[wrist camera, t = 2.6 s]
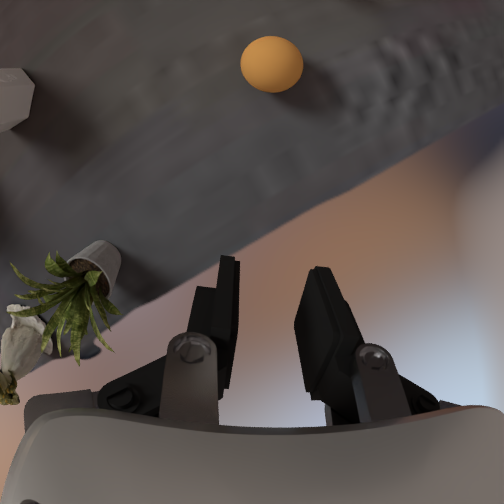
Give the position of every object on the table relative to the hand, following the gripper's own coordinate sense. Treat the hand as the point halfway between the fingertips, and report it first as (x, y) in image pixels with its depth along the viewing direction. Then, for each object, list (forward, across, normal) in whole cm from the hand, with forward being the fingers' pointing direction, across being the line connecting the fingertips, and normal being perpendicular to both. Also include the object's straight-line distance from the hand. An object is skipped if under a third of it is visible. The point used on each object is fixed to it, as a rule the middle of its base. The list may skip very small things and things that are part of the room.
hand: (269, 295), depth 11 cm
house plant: (+23, +20, +13) cm, 33 cm away
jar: (+23, +34, -8) cm, 42 cm away
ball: (+20, 0, -12) cm, 23 cm away
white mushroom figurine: (+23, +40, +34) cm, 57 cm away
